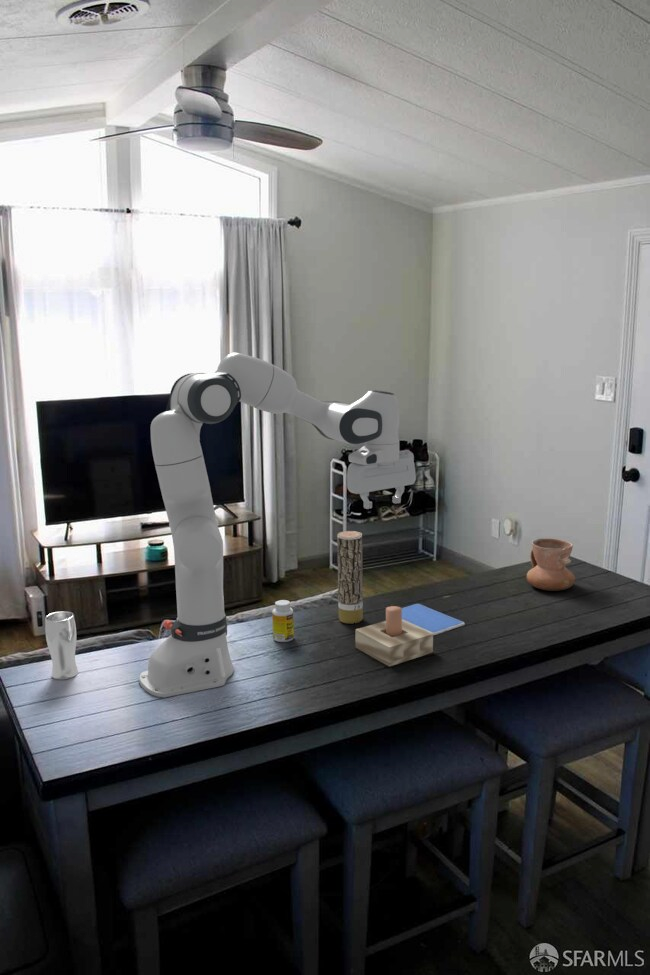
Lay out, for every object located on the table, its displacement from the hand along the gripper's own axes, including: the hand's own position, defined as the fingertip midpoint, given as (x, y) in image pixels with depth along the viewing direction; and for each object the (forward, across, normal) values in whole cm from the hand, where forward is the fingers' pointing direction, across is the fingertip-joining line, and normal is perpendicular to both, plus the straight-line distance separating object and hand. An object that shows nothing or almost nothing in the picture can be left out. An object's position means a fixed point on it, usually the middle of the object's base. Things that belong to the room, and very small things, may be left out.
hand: (382, 505), depth 208 cm
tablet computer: (+36, -15, 0) cm, 39 cm away
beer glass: (+35, +78, -25) cm, 89 cm away
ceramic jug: (+35, -64, +2) cm, 73 cm away
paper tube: (+35, +2, -12) cm, 37 cm away
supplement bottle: (+35, +24, -12) cm, 44 cm away
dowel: (+34, +5, +11) cm, 36 cm away
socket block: (+35, +5, +11) cm, 37 cm away
